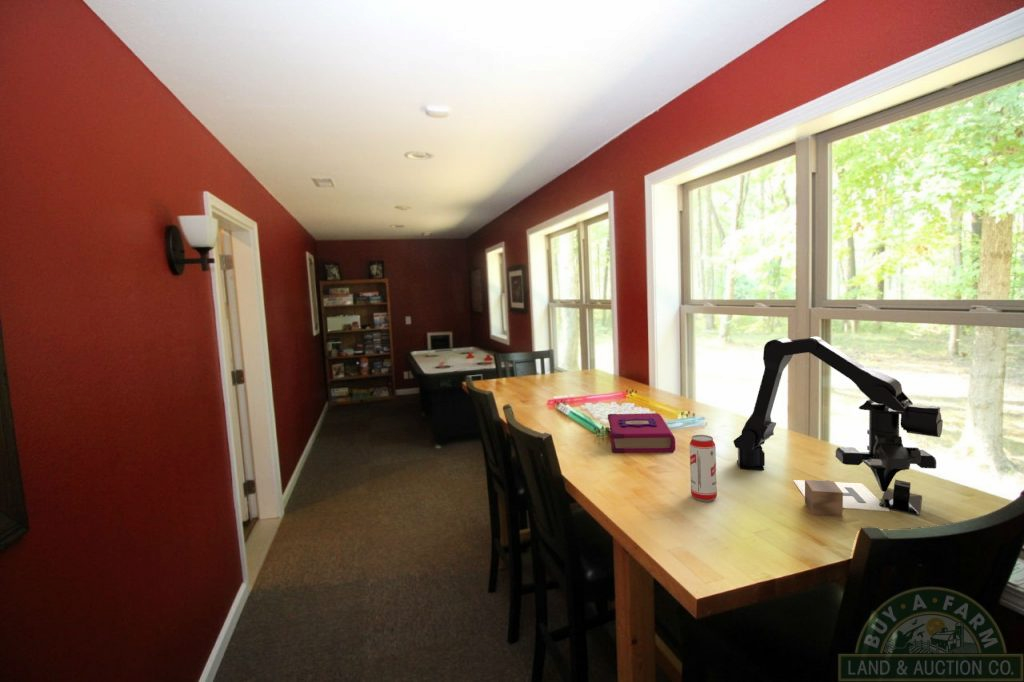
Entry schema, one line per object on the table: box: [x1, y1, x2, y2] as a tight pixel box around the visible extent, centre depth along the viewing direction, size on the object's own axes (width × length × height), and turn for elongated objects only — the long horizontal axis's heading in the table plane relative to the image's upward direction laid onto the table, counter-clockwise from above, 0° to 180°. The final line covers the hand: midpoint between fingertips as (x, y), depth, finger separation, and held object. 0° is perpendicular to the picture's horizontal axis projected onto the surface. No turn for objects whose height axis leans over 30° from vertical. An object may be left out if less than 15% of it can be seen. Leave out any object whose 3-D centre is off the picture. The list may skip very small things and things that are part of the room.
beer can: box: [689, 434, 718, 503], centre depth 120 cm, size 6×6×16 cm
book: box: [607, 412, 676, 454], centre depth 171 cm, size 21×28×8 cm
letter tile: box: [792, 479, 891, 512], centre depth 118 cm, size 16×16×1 cm
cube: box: [804, 479, 844, 518], centre depth 110 cm, size 6×6×6 cm
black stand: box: [879, 479, 923, 516], centre depth 111 cm, size 12×7×5 cm, turn 137°
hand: (883, 490), depth 114 cm, fingers closed
